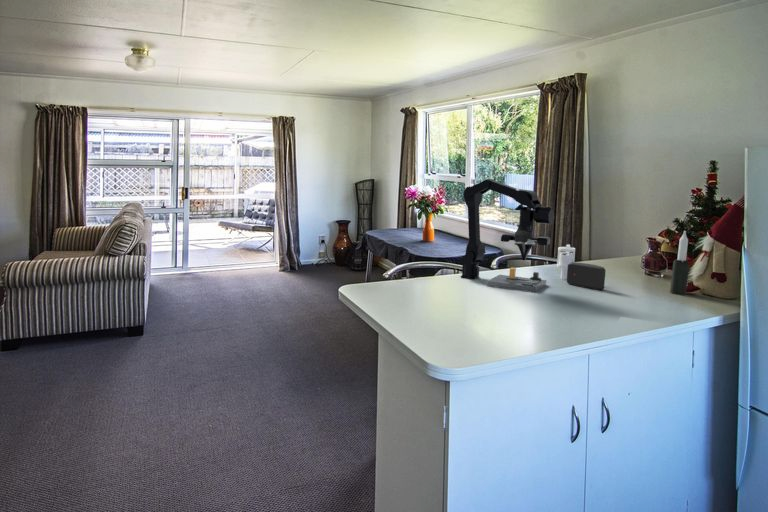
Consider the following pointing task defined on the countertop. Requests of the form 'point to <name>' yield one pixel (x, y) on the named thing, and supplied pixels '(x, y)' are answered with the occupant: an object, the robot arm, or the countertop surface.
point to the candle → (680, 268)
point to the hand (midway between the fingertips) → (523, 260)
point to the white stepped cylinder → (565, 259)
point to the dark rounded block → (586, 275)
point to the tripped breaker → (512, 274)
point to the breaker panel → (518, 283)
